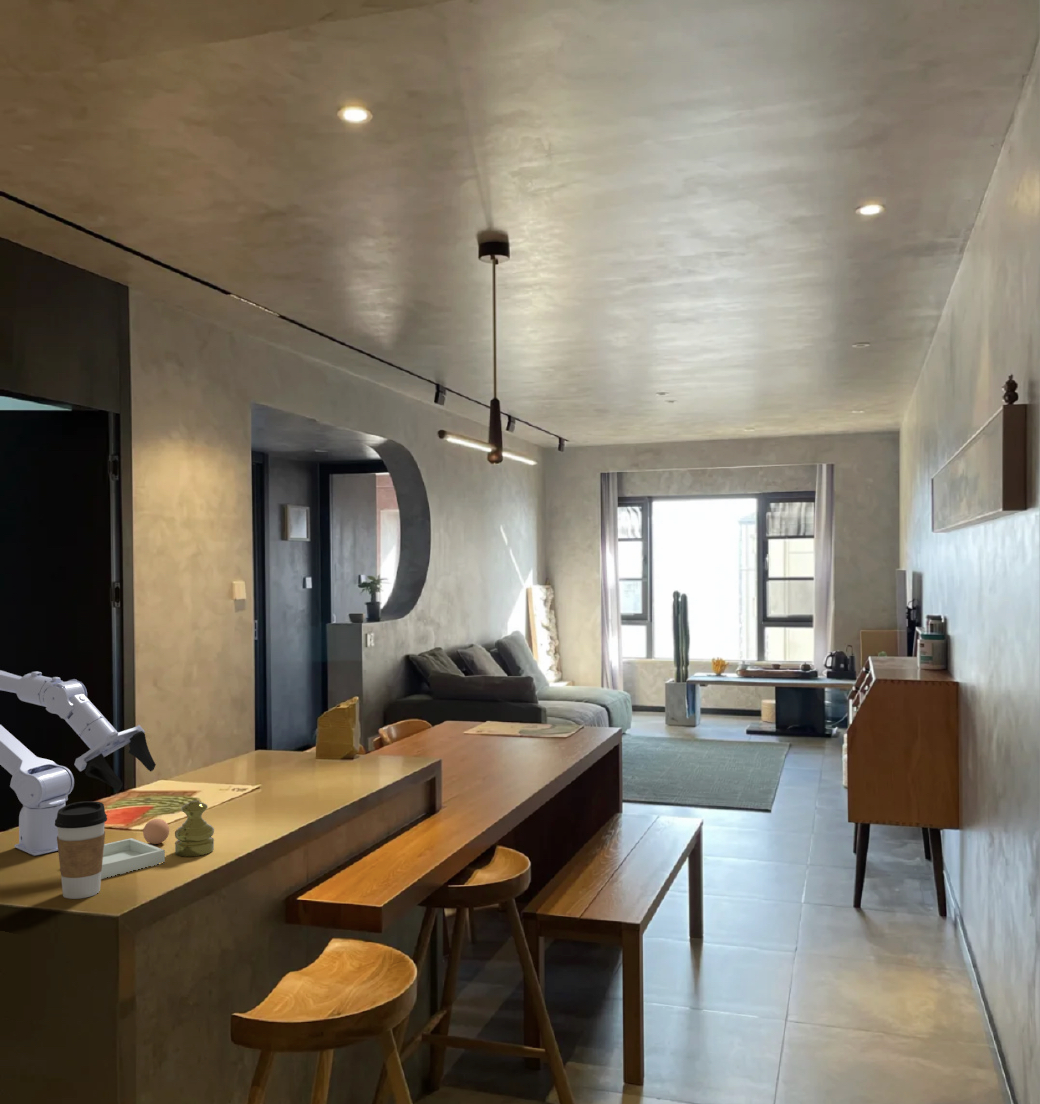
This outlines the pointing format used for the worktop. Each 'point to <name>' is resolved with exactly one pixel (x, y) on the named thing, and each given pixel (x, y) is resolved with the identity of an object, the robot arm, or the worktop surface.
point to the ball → (156, 831)
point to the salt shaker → (194, 832)
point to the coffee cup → (81, 847)
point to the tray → (129, 857)
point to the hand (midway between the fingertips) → (137, 777)
